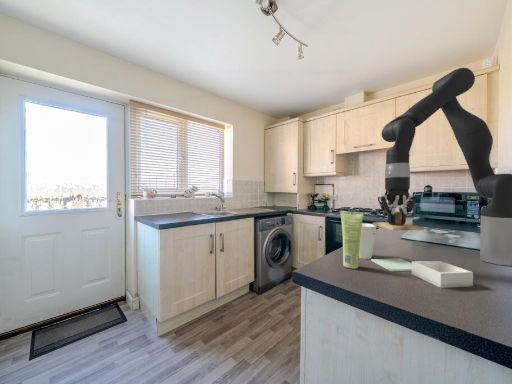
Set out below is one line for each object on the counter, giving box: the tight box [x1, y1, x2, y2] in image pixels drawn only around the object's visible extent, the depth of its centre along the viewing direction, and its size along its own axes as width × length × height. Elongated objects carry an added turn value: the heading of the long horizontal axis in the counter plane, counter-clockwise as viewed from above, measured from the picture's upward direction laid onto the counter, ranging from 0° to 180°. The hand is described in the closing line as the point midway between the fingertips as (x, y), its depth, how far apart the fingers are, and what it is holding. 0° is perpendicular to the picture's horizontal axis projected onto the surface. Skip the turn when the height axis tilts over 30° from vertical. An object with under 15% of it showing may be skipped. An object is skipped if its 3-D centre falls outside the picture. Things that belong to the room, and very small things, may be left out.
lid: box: [372, 211, 425, 231], centre depth 79 cm, size 11×11×5 cm
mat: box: [370, 257, 412, 273], centre depth 79 cm, size 12×11×1 cm
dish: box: [411, 260, 474, 289], centre depth 66 cm, size 10×10×4 cm
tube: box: [339, 210, 364, 270], centre depth 77 cm, size 6×5×20 cm
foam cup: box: [359, 222, 377, 260], centre depth 89 cm, size 10×9×13 cm
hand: (396, 224), depth 79 cm, fingers closed on lid, 3 cm apart
